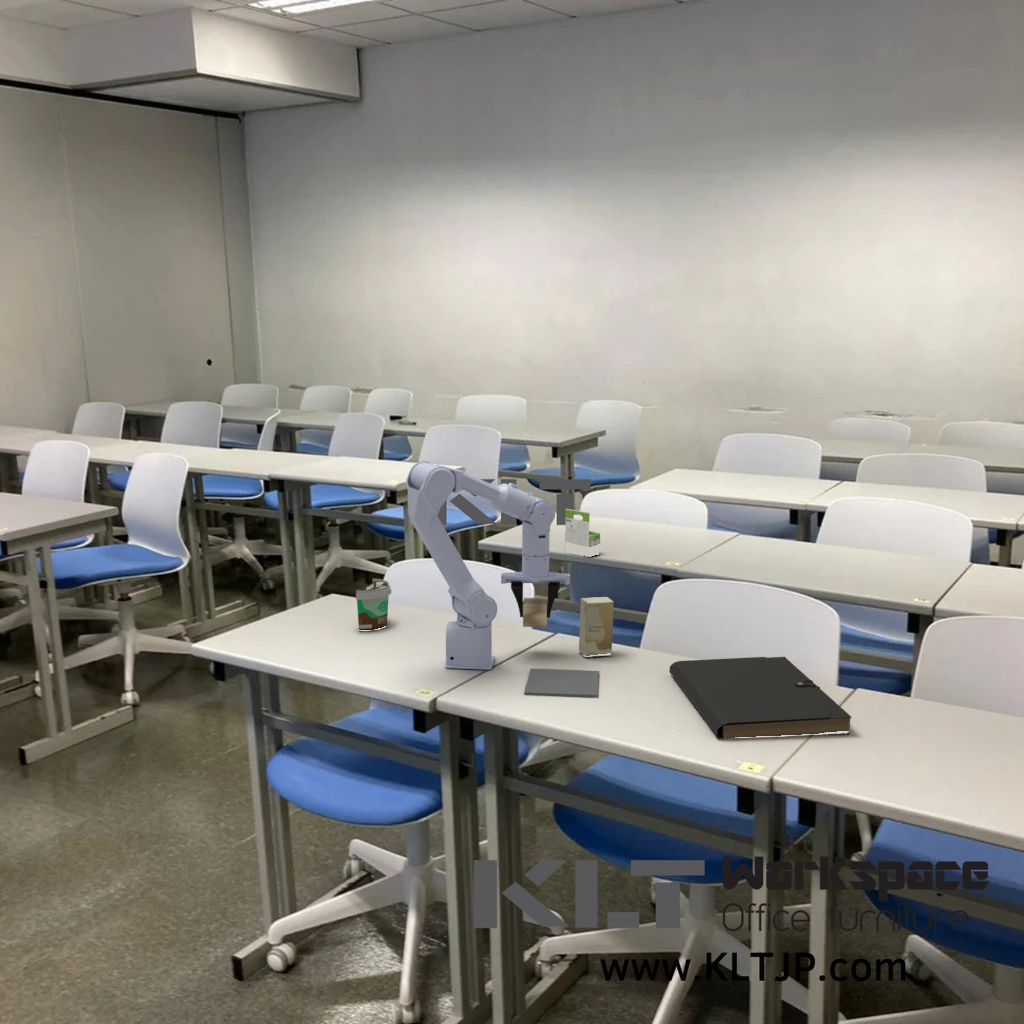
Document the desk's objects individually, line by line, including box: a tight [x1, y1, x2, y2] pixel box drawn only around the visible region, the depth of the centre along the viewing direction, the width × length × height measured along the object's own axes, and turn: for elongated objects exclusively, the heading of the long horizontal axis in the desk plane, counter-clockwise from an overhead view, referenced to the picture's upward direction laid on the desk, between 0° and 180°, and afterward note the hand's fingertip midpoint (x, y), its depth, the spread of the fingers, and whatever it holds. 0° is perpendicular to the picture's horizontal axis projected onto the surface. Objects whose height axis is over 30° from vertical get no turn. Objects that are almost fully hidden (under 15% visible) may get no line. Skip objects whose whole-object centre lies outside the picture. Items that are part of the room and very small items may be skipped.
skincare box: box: [578, 596, 615, 656], centre depth 222 cm, size 6×4×12 cm
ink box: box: [564, 508, 601, 547], centre depth 318 cm, size 10×5×14 cm, turn 43°
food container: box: [355, 578, 392, 631], centre depth 242 cm, size 12×6×10 cm, turn 168°
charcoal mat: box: [523, 667, 600, 698], centre depth 205 cm, size 14×14×1 cm
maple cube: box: [522, 597, 548, 628], centre depth 222 cm, size 5×5×5 cm
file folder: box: [668, 656, 853, 740], centre depth 196 cm, size 33×4×24 cm
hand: (535, 616), depth 222 cm, fingers closed on maple cube, 5 cm apart
